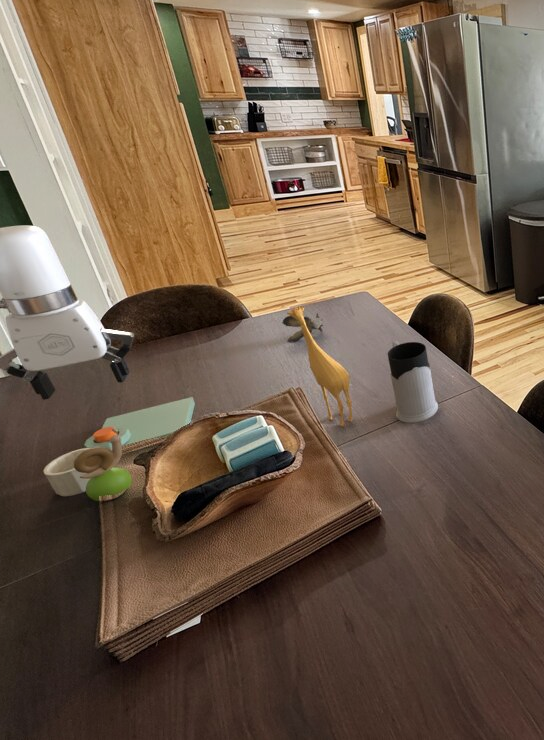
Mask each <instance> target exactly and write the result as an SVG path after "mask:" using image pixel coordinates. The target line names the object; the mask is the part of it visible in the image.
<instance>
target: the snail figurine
mask: <svg viewBox="0 0 544 740" xmlns="http://www.w3.org/2000/svg"><path fill="white" fill-rule="evenodd" d="M112 431H113V432H114V433H116V435H113V436H112V437H111V438H110V439H109V441H110V443H111V444H112V451H111V450H110V449H108V448H106V447H94V448H90V449H87V450H85V451H84V452H82V453H81V454H79V455H78V456H77V458H76V459H75V461H74V468H75V470H76V471H78V472H81V473H86V474H84V475H81V476H80V478H84V479H89V481H88V483H87V485H86V491H85V493H86V495H87V497H88V498H90V499H91V500H93V501H95V502H100V501H99V496H101V495H102V496H105V495H115V494H118V493H121V492H122V491H124V490H125V489H127V488H128V487H129V486H130V487H131V485H132V482H133V480H132V479H133V478H132V475H131V473H130V472H129V471H128V470H127V469H125V468H123V467H117V466H116V465H117V464H119V462H120V460H121V458H122V456H123V455H122V446H121V438H120V437H121V436H120V435H118V433H117V432H118V430H117V429H116V428H113V429H112ZM130 484H131V485H130ZM130 487H129V488H130Z"/></svg>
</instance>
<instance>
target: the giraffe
mask: <svg viewBox="0 0 544 740" xmlns="http://www.w3.org/2000/svg"><path fill="white" fill-rule="evenodd" d="M304 310H305V307H304V306H303V307H301V306H300V305H298V307H296V306H294V308H292V309H291V310H289V311H287V312H286V314H287V315H288V316H292V317H294V318H295V319H297V320H298V322H299V324H300V326H301V327H300V328H301V330H302V331H303V334H304V337H303V338H304V340H305V344H306V348H307V354H308V361H309V368H310V370H311V372H312V374H313V376H314V378H315V381H316V383H317V385H319V386H320V388H321V391H322V395H323V399H324V402H325V404H326V409H327V413H328V420H329V421H332V420H333V416H332V415H333V414H332V411H331V408H330V405H329V404H330V403H329V401H328V394H327V392H328V393H329V394H331V395H332V396H333V398H334V399H335V400H336V401H337V406H338V415H339V416H340V422H339V426H340V427H344V424H345V421H344V403H343V402H342V400H341V398H340V396H339V395H340V393H341V392H342V391H343V393H344V395H345V398H346V404H347V407H348V410H349V412H348V413H349V415H348V422H352V421H353V419H354V418H353V411H352V410H353V409H352V408H353V405H352V400H351V398H350V391H349V389H350V374H349V372H348V371H347V370H346V368H344V367H343V366H342V365H341V364H340V363H339V362H338V361H336V360H335V359H334V358H332V357H331V356H330V355H329V354H328V353H326V352H325V351H324V349H322V348H321V347H320V346H319V345H318V344H317V342H316V341H315V339H314V338H313V336H312V333H310V332H309V330H308V328H307V326H306V323H305V320H304V317H305V316H304Z"/></svg>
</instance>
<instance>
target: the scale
mask: <svg viewBox="0 0 544 740" xmlns="http://www.w3.org/2000/svg"><path fill="white" fill-rule="evenodd" d="M195 406H196V403H195V400H194V397H193V396H190V397H187V398H182V399H178V400H173V401H170V402H167V403H162V404H158V405H155V406H151V407H147V408H142V409H138V410H134V411H131V412H126V413H123V414H118V415H115V416H111V417H108V418H106V419H105V421H104V423H103V425H102V427H101V429H103V428H106V427H115V428H116V429H117V430H118V432H117V433H118V435H120V436H121V437H120V438H121V446H124V445H128V444H131V443H135V442H139V441H142V440H146V439H152V438H159V437H165V436H167V435H169V434H171V433H173V432H174V431H176V430H178V429H180V428H181V427H183V426H185V425H187V424H189V423H190V422H191V423H192V419H193V413H194V409H195ZM191 423H190V424H191ZM84 442H85V443H83V445H84V448H94V447H106V448H108V449H110V450H112V444H111V443H110V441H106V442H102V443H97V442H96V441H95V439H94V437H93V435H91V436H90V437H89V438H87V439H86V440H85V441H84Z"/></svg>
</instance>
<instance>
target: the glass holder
mask: <svg viewBox="0 0 544 740" xmlns="http://www.w3.org/2000/svg"><path fill="white" fill-rule="evenodd" d="M387 359H388V364H389V369H390V379H391V384H392V390H393V394H394V400H395V403H396V413H395V415H396V416H395V417H396V418H397V419H398V421H400V422H402V423H406V424H415V423H419V422H423V421H426V420H427V419H429V418H432V417H433V416H434V415H435V414H436V413H437V412H438V409H439V404H438V402H437V400H436V397H435V392H434V390H435V389H434V384H433V379H432V373H431V365H430V363H429V357H428V352H427V346H426V345H425V344H424V343H422V342H419V341H409V342H403V343H400V344H399V342H398V341H397V340H395V341H393V342H392V347H391V348H390V349H389V350H388V352H387Z"/></svg>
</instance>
